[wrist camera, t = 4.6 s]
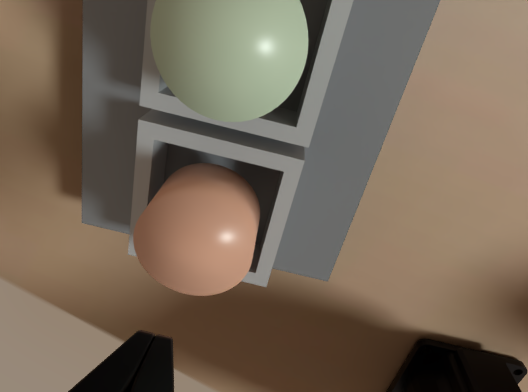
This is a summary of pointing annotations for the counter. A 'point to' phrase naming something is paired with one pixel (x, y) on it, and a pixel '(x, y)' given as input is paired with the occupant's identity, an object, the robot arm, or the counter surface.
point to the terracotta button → (199, 230)
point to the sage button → (230, 54)
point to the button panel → (250, 126)
